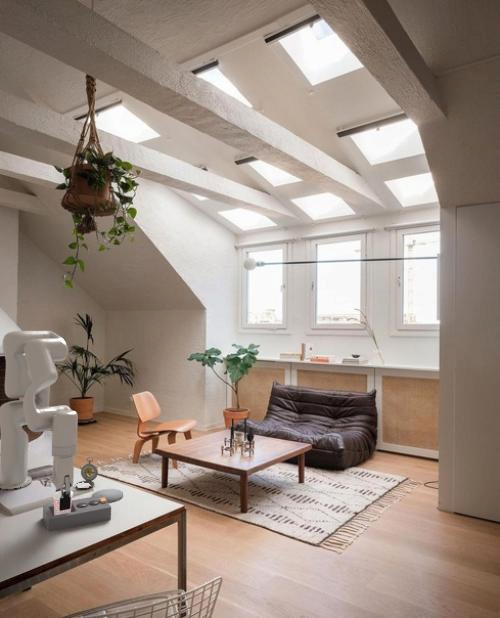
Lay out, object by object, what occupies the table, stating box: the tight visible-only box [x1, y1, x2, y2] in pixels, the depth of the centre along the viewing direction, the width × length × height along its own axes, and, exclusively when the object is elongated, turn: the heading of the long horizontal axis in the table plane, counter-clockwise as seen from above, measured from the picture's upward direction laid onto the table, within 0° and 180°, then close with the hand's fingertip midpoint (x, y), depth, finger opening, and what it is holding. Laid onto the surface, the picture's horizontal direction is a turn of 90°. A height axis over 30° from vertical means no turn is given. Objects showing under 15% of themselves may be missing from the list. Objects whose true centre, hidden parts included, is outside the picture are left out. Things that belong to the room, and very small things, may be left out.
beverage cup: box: [52, 486, 74, 515], centre depth 154 cm, size 6×6×14 cm
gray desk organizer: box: [42, 495, 112, 533], centre depth 156 cm, size 11×19×5 cm, turn 122°
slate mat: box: [91, 488, 124, 504], centre depth 174 cm, size 11×11×1 cm
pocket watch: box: [76, 457, 99, 488], centre depth 184 cm, size 8×8×10 cm
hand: (62, 504), depth 154 cm, fingers closed on beverage cup, 6 cm apart
